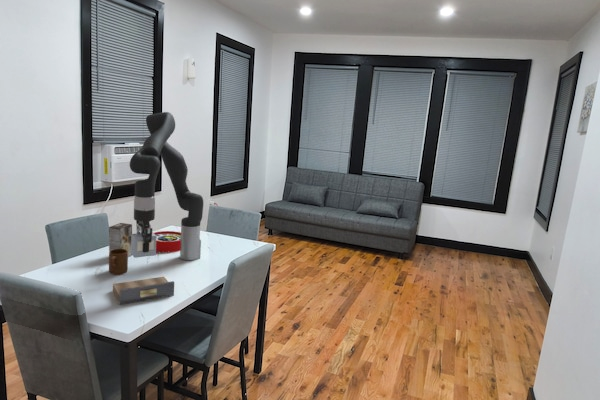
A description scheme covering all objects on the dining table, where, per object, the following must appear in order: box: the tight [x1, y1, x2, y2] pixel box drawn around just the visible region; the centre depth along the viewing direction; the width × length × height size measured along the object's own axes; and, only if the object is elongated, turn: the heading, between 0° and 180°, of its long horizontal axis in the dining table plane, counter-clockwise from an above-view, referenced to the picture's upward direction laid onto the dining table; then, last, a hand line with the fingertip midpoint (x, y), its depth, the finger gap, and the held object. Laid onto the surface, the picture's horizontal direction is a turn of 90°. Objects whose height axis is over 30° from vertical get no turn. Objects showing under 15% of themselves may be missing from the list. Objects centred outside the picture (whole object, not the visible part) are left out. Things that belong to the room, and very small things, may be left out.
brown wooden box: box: [112, 275, 175, 306], centre depth 159 cm, size 20×14×6 cm
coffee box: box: [108, 222, 133, 258], centre depth 194 cm, size 9×6×16 cm
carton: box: [131, 231, 157, 259], centre depth 156 cm, size 6×8×8 cm
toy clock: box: [153, 230, 181, 253], centre depth 217 cm, size 20×6×20 cm
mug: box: [108, 249, 129, 275], centre depth 175 cm, size 12×8×9 cm, turn 3°
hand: (143, 249), depth 156 cm, fingers closed on carton, 5 cm apart
